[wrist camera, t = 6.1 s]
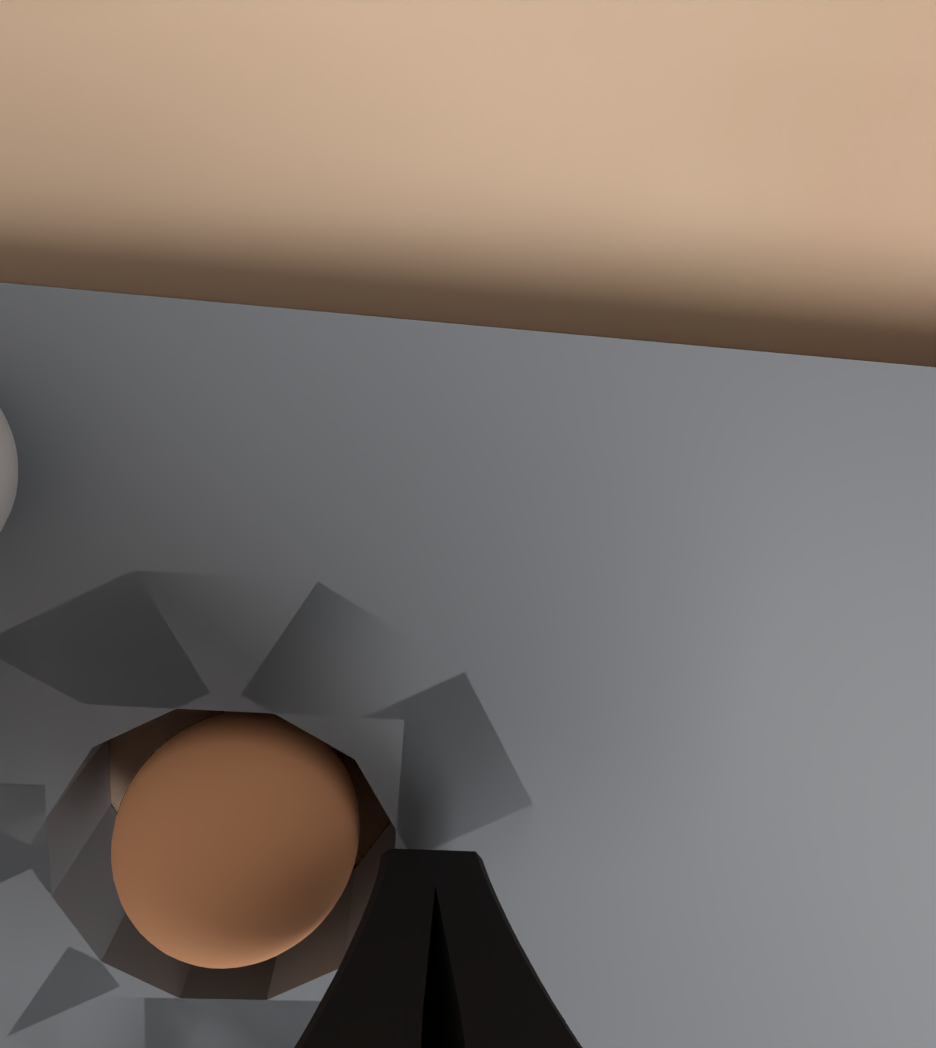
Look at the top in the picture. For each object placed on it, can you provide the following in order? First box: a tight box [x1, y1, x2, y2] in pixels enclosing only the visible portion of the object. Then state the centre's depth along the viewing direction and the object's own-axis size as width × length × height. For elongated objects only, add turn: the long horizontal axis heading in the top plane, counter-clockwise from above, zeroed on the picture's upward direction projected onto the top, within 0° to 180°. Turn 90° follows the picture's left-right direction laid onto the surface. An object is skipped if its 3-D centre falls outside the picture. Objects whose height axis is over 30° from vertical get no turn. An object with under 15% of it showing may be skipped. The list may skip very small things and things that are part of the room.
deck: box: [0, 282, 936, 1048], centre depth 13 cm, size 16×19×2 cm
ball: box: [111, 712, 360, 969], centre depth 12 cm, size 4×4×4 cm
